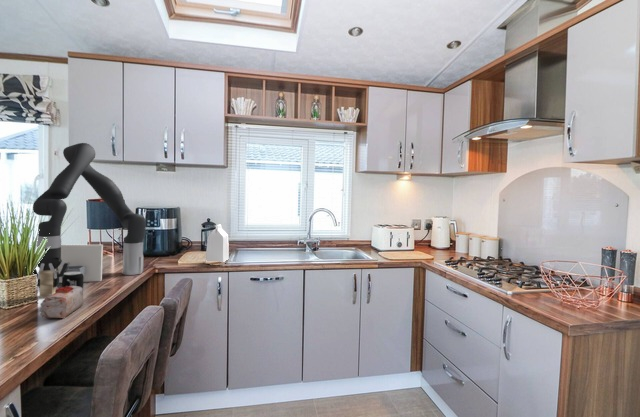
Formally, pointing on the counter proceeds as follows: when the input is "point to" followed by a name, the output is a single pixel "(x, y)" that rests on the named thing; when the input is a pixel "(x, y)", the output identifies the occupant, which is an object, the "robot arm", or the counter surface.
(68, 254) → the white upright panel
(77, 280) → the beverage can
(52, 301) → the food item
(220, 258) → the milk
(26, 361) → the counter surface
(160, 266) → the counter surface
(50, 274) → the rail post
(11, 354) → the counter surface
